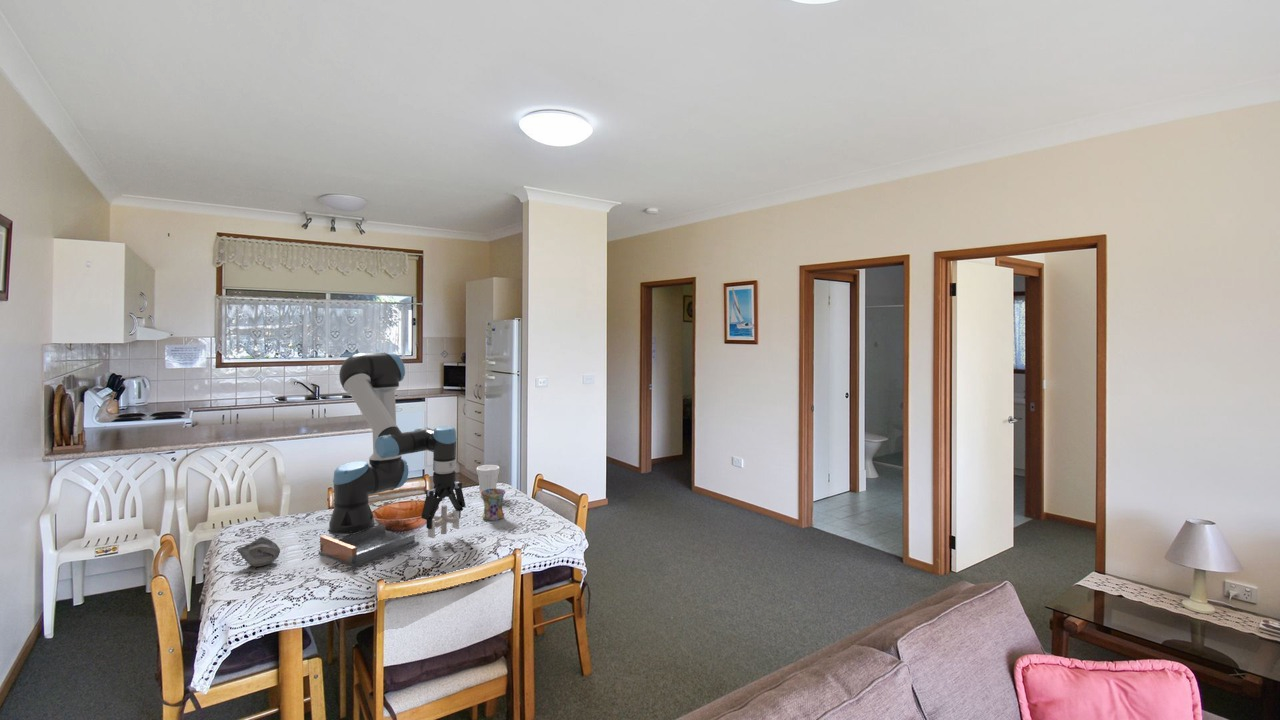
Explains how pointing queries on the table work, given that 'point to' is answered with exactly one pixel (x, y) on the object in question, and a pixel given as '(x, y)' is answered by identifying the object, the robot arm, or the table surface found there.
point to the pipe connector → (444, 519)
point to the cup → (487, 476)
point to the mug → (493, 503)
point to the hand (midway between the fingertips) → (443, 532)
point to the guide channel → (365, 545)
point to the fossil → (260, 552)
